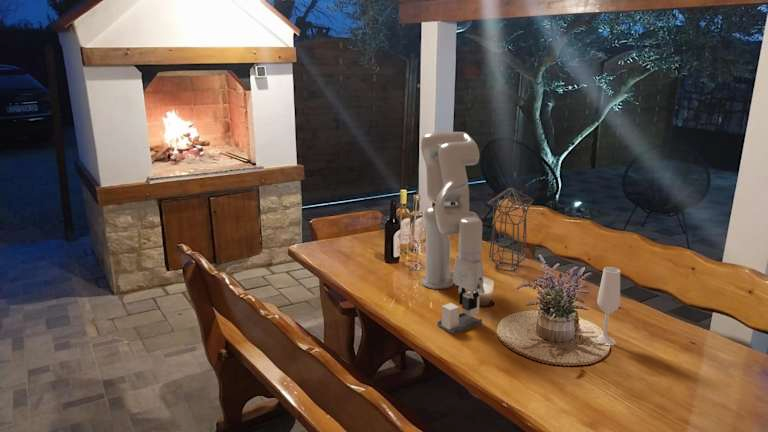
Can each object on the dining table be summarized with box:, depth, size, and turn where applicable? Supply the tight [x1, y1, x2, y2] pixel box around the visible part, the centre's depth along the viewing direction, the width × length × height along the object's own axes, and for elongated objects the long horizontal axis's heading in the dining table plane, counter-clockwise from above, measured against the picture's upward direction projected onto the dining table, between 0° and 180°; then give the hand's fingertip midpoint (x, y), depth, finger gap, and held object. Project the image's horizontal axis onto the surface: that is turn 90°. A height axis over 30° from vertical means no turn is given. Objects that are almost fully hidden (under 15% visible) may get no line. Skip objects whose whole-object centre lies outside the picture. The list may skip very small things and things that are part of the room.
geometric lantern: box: [486, 187, 535, 272], centre depth 243 cm, size 16×16×35 cm
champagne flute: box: [596, 266, 621, 347], centre depth 181 cm, size 7×7×24 cm
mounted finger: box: [441, 302, 460, 330], centre depth 192 cm, size 5×4×7 cm
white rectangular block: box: [461, 290, 481, 317], centre depth 196 cm, size 5×4×7 cm
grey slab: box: [437, 312, 483, 336], centre depth 195 cm, size 13×8×2 cm, turn 127°
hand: (467, 305), depth 196 cm, fingers closed on white rectangular block, 3 cm apart
